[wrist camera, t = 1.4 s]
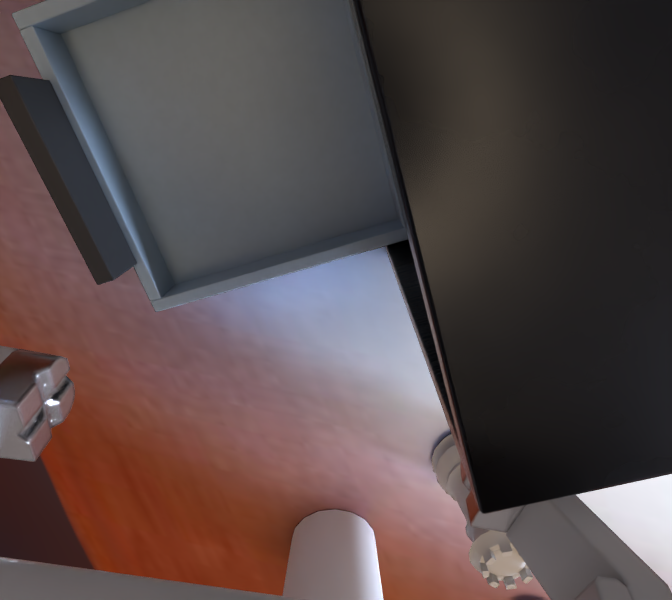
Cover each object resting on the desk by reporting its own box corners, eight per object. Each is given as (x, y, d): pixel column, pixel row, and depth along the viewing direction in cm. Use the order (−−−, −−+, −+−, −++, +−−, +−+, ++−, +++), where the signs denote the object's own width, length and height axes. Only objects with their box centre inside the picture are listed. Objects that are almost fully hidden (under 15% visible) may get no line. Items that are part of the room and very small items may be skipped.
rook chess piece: (462, 493, 30) (502, 616, 23) (415, 455, 29) (441, 571, 21) (516, 453, 29) (577, 569, 21) (469, 412, 28) (517, 519, 20)
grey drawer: (164, 296, 24) (124, 337, 20) (38, 29, 20) (-51, 2, 15) (411, 224, 23) (429, 250, 18) (336, -83, 18) (334, -150, 14)
